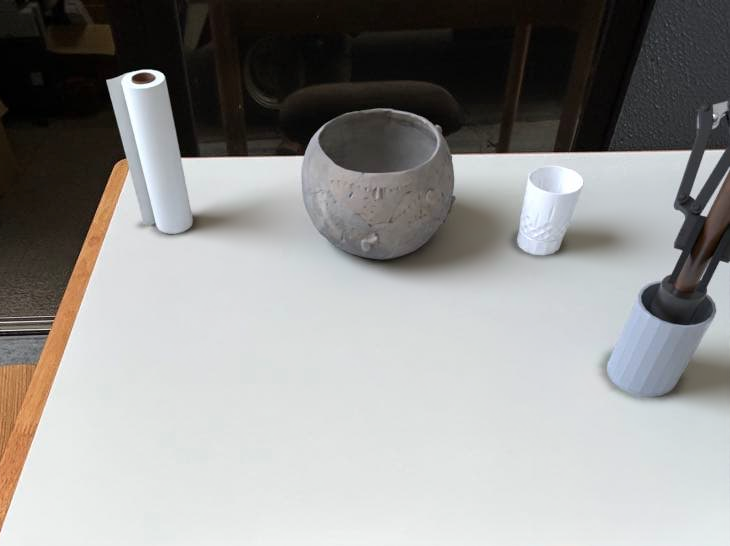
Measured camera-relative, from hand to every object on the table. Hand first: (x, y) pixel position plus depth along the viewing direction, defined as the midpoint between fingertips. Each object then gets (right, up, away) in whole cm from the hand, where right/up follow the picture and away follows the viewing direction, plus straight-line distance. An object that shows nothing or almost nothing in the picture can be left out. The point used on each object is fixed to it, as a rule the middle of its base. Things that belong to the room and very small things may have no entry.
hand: (686, 284), depth 71 cm
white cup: (-6, +19, +32) cm, 38 cm away
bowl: (-32, +21, +34) cm, 51 cm away
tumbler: (+2, -6, +15) cm, 16 cm away
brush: (+2, -1, +7) cm, 8 cm away
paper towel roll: (-65, +24, +37) cm, 79 cm away
